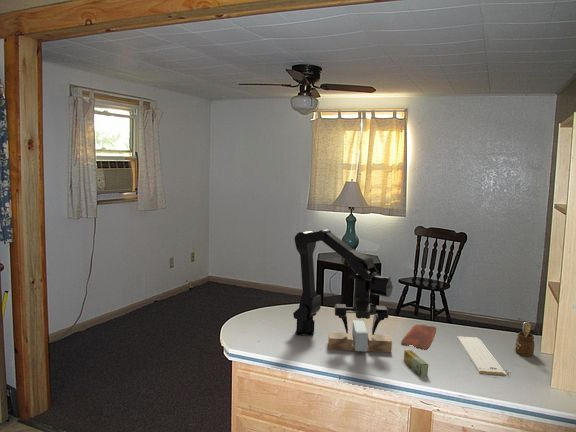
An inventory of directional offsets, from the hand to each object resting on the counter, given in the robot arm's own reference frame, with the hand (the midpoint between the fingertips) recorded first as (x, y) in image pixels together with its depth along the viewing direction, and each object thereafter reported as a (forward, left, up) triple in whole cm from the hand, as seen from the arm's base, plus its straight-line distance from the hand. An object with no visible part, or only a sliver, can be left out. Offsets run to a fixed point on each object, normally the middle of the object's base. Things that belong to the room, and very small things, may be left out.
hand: (359, 333), depth 169 cm
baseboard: (+43, -2, -6) cm, 43 cm away
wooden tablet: (+25, +15, -6) cm, 30 cm away
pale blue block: (0, 0, -4) cm, 4 cm away
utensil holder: (+59, +2, -5) cm, 59 cm away
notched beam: (0, 0, -5) cm, 5 cm away
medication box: (+17, -15, -6) cm, 23 cm away
